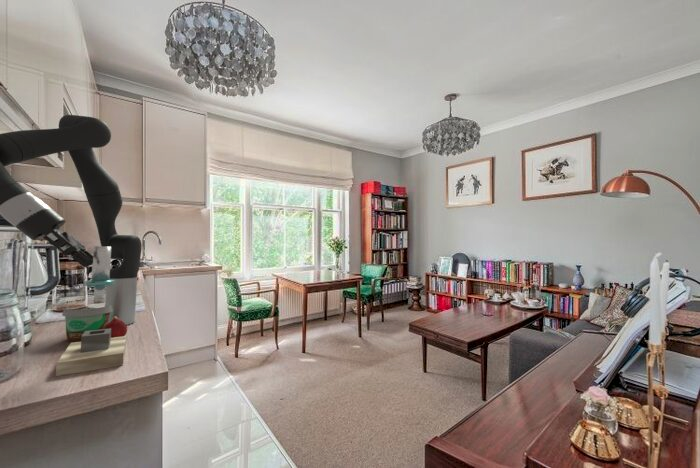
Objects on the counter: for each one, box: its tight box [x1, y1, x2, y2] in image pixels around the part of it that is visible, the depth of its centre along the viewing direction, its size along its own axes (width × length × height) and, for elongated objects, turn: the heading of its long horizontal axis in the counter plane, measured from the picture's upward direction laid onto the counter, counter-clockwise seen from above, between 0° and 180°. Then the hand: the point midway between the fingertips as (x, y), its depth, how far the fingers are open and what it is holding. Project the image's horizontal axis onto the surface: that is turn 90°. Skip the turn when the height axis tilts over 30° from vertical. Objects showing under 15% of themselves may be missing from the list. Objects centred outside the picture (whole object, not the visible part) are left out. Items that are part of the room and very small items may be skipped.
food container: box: [61, 305, 113, 343], centre depth 91 cm, size 12×6×10 cm, turn 114°
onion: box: [104, 316, 128, 338], centre depth 89 cm, size 6×6×8 cm
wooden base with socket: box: [55, 328, 127, 377], centre depth 76 cm, size 16×12×7 cm
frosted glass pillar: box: [84, 245, 115, 305], centre depth 77 cm, size 6×6×15 cm
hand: (92, 263), depth 76 cm, fingers open, 8 cm apart
